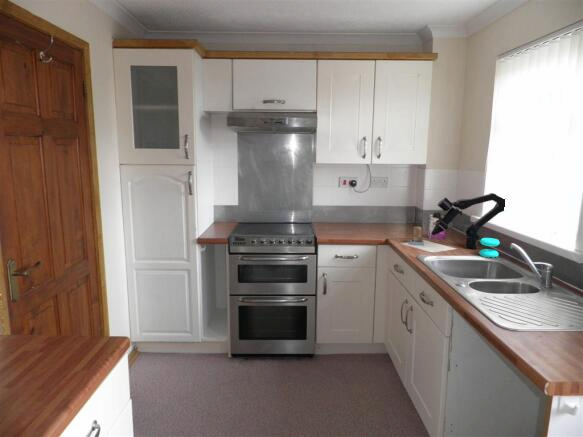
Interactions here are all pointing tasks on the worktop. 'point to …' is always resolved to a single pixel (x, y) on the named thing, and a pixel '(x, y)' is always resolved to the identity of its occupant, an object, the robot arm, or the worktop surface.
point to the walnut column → (417, 234)
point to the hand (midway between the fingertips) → (432, 234)
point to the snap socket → (417, 243)
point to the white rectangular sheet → (430, 246)
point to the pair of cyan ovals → (488, 251)
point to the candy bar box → (431, 227)
